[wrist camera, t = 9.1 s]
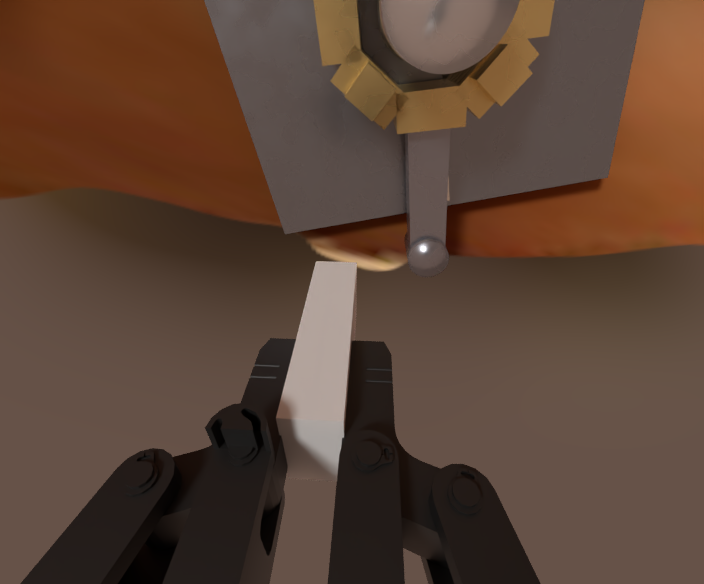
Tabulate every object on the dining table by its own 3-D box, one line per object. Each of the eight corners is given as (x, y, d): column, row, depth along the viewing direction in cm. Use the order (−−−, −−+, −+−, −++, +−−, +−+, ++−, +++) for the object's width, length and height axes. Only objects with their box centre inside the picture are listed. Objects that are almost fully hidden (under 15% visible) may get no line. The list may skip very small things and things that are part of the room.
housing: (710, -476, 13) (1432, -1560, 4) (593, 169, 27) (706, 234, 18) (136, -240, 17) (-131, -559, 8) (289, 223, 30) (256, 301, 21)
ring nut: (306, -120, 17) (284, -176, 13) (545, -164, 16) (614, -243, 12) (354, 257, 29) (351, 297, 25) (492, 246, 28) (516, 285, 24)
